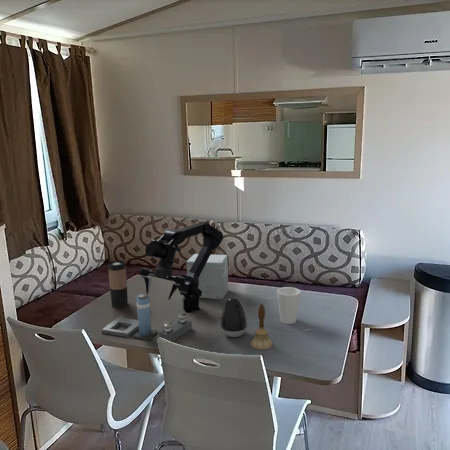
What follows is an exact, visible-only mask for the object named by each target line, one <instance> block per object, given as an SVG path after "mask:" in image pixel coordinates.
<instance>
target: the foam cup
mask: <svg viewBox="0 0 450 450" xmlns="http://www.w3.org/2000/svg"><path fill="white" fill-rule="evenodd" d="M276 297H277V302H278V309H279V310H278V311H279V319H280V323H283V324H285V325H293V324H295V323H296V322H297V318H298V312H299V306H300V305H299V304H300V299H301V290H300V289H299V288H296V287H293V286H285V287H280V288H278V289H277V290H276ZM292 323H293V324H292Z"/></svg>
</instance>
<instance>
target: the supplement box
mask: <svg viewBox="0 0 450 450" xmlns="http://www.w3.org/2000/svg"><path fill="white" fill-rule="evenodd" d="M198 254H199V253H194V254H193V255H192V256H191V257H189V259H187V260H186V274H188V273H189V271H190V269H191V267H192V265H193V264H194V262H195V260H196V258H197V256H198ZM228 263H229V262H228V255H227V254H211V255H210V257H209V259H208V261H207V262H206V264H205V266H204V268H203V270H202V272H201V274H200V276H199V286H198V288H199V289H200V290H201V291H202V295H201V296H200V297H199V299H213V300H223V299H224V297H225V296H226V294H227V293H228V291H229V270H228V269H229V268H228V267H229V266H228V265H229V264H228Z"/></svg>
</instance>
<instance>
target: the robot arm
mask: <svg viewBox="0 0 450 450" xmlns="http://www.w3.org/2000/svg"><path fill="white" fill-rule="evenodd" d="M200 234H201V235H202V236H203V237H202V247H200V250H199V252H198V253H197V254H198V256H197V258H196V260H195V262H194V264H193V265H192V267H191V269H190V271H189V273H188V274H187V273H186V274H184V273H182V275H181V276H178V275H176V276H173V273H174V268H173V266H174V262H175V259H176V255H177V252H181V249H180V247H179V245H181V244H182V243H184V242H185V240H187V239H188V238H191V237H194V236H197V235H200ZM223 240H224V235H223V232H222V231H221V230H219V229H217V228H215V227H214V226H212V224H210V223H209V222H206V221H199V222H198V223H194V224H192V225H189V226H185V227H182V228H172V229H171V228H169V229H166V230H165V231H164V233H163V234H162V235H161V236H160V238H158V240H155V239H151V241H150V242H149V243H148V244H147V245H146V247H145V255H146V257H150V258H155V259H159V262H158V264H157V266H156V267H155V269H154V271H153V269H149V268H146V267H143V268H141V269H140V270H139V274H138V275H139V276H141V279H143V280H144V283H145V292H146V293H145V294H148V295H149V293H150V287H151V284H152V283H151V282H152V277H154V278H158V279H162V280H166V281H171V282H174V283H172V287H171V290H170V293H169V295H168V301H170V300H171V298H172V297H173V295H174V294H175V292H176V291H177V290H178V292H179V294H180V295H181V296H183V297H182V298H181V299H182V301H181V302H182V309H184V311H185V312H186V313H189V312H190V313H191V312H195V311H201V307H200V298H199V297H200V296H201V295H202V291H201V290H200V289H199V288H198V286H199V276H200V274H201V272H202V270H203V268H204V266H205V264H206V262H207V261H208V259H209V257H210V255H212V252H213V251H214V250H215V249H216V248H218V247H219V246H220V245H221V243H222V242H223Z"/></svg>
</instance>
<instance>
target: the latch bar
mask: <svg viewBox="0 0 450 450" xmlns="http://www.w3.org/2000/svg"><path fill="white" fill-rule="evenodd" d="M171 323H172V327H171V332H170V333H169V334H168V333H165V330H164V328H163V329H161V330H159V331H158V333H157V334H158V338H159V337H161V338H165V339H167V340H169V341H172V342H174V341H175V340H177V339H178V338H180V337H181V336H183V335H184V334H186V333H188V332H189V331H191V330H192V329H193V325H192V324H193V322H192V320H188V319H186V323H185V324H180V323H179V319H177V320H175V321H174V322H171Z"/></svg>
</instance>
